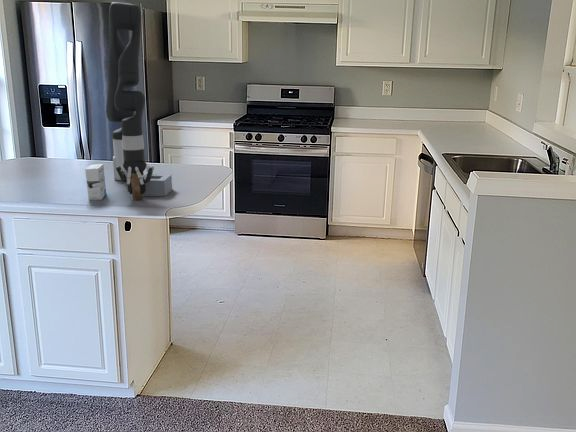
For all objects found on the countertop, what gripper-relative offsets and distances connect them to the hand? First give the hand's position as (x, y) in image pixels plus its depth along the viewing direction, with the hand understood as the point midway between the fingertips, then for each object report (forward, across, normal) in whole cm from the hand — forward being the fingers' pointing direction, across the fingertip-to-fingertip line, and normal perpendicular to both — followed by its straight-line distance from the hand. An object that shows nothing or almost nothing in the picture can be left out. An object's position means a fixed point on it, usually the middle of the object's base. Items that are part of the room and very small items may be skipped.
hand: (137, 193), depth 208 cm
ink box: (+2, -16, +2) cm, 16 cm away
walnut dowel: (+2, 0, 0) cm, 2 cm away
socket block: (+2, +4, +10) cm, 11 cm away
